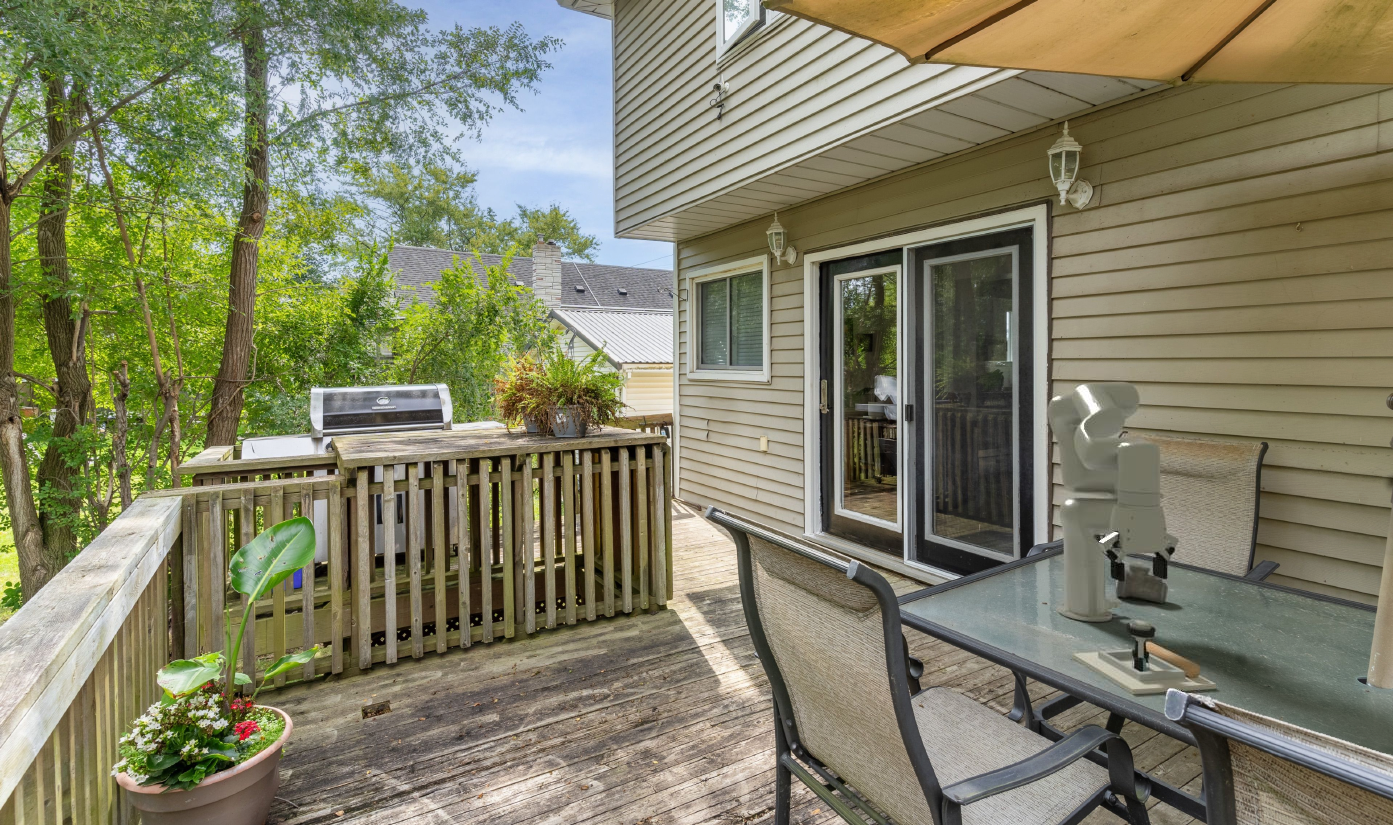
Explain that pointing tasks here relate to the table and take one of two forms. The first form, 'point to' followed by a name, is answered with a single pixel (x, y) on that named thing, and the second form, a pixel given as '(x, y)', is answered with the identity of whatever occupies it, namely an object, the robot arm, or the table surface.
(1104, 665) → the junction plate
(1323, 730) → the table surface
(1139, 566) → the pipe fitting
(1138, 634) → the push button
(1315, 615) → the table surface
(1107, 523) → the robot arm
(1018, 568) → the table surface
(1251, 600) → the table surface
